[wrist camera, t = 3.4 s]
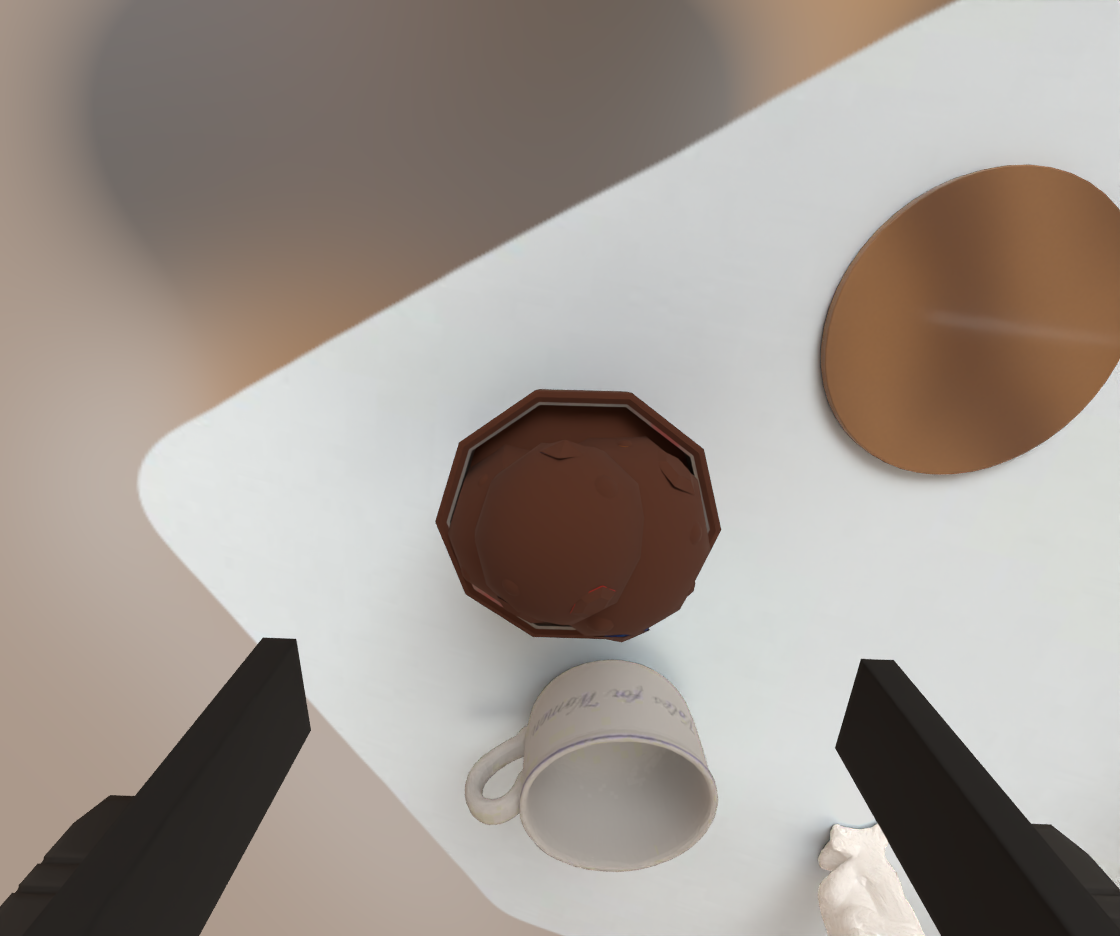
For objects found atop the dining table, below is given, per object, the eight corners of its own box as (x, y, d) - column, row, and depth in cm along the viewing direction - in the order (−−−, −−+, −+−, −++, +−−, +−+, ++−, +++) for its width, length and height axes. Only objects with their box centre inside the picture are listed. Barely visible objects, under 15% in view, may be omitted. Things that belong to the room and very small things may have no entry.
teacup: (699, 639, 34) (736, 744, 27) (677, 765, 38) (704, 888, 30) (480, 627, 34) (455, 729, 27) (480, 755, 38) (458, 875, 30)
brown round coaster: (1044, 86, 24) (1056, 82, 23) (1178, 342, 27) (1191, 343, 27) (762, 324, 27) (766, 326, 27) (913, 521, 31) (920, 525, 31)
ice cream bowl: (455, 505, 31) (363, 702, 17) (514, 318, 27) (458, 371, 13) (626, 560, 32) (671, 787, 18) (704, 387, 28) (838, 503, 14)
